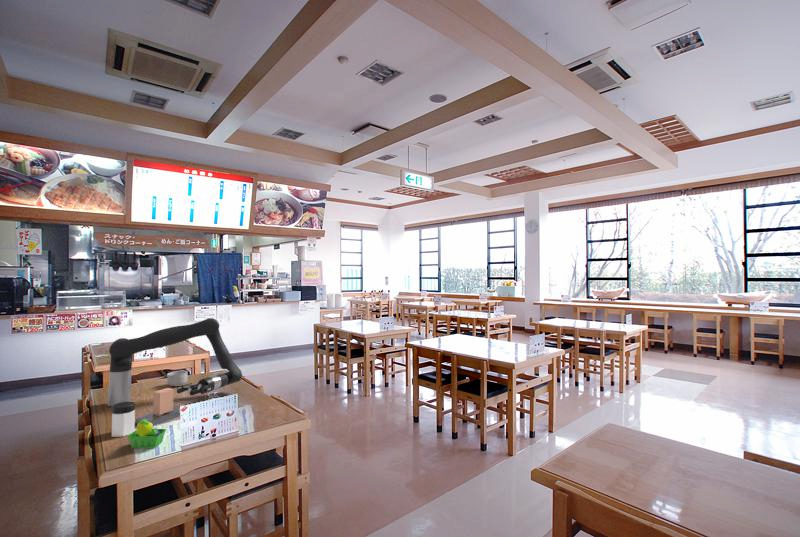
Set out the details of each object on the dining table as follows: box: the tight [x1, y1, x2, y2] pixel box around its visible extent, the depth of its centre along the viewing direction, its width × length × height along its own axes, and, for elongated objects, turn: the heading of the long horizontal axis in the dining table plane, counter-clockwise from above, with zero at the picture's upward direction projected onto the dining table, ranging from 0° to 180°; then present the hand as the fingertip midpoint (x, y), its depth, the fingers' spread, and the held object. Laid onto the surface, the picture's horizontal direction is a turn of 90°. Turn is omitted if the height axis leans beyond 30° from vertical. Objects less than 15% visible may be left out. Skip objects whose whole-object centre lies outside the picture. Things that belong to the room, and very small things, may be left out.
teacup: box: [166, 369, 189, 387], centre depth 240 cm, size 14×11×8 cm
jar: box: [111, 401, 136, 438], centre depth 168 cm, size 9×8×12 cm
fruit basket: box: [127, 419, 167, 449], centre depth 157 cm, size 11×9×11 cm
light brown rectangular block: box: [152, 387, 175, 416], centre depth 186 cm, size 7×4×13 cm, turn 160°
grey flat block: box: [135, 404, 181, 427], centre depth 186 cm, size 20×9×2 cm, turn 160°
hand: (183, 392), depth 196 cm, fingers open, 8 cm apart
